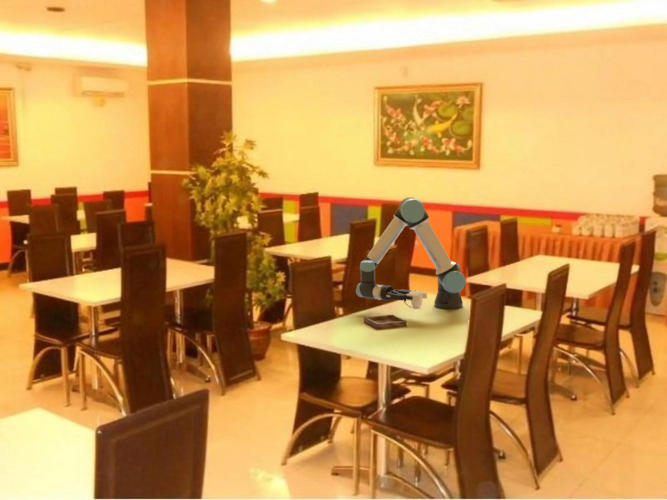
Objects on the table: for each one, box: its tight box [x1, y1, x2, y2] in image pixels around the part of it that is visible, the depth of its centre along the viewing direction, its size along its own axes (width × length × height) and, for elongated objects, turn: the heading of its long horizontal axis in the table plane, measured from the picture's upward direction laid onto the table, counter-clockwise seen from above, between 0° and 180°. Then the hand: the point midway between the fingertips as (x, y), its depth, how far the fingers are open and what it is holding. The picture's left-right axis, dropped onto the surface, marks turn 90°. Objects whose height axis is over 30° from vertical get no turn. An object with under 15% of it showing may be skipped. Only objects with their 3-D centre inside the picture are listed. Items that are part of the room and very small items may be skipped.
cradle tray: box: [363, 314, 407, 330], centre depth 343 cm, size 15×15×2 cm
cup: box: [403, 290, 424, 310], centre depth 352 cm, size 7×10×8 cm
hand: (422, 297), depth 349 cm, fingers closed on cup, 7 cm apart
